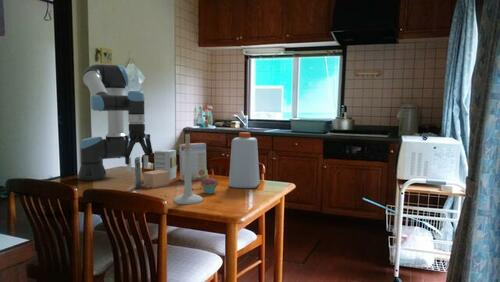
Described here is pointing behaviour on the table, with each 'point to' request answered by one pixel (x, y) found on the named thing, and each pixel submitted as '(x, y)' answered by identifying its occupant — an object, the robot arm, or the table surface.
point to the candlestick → (188, 179)
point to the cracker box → (194, 161)
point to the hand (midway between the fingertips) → (137, 169)
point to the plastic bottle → (244, 162)
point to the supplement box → (166, 161)
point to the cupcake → (209, 184)
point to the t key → (137, 173)
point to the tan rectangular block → (156, 178)
